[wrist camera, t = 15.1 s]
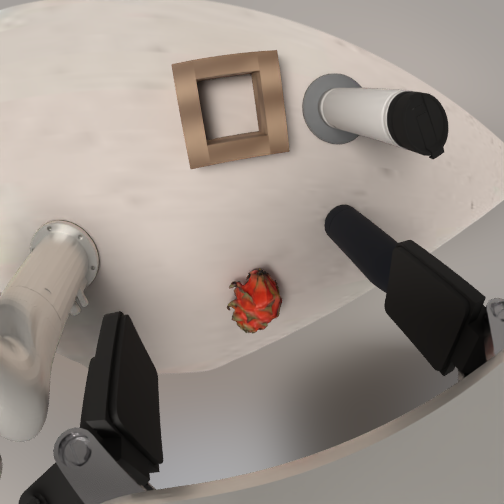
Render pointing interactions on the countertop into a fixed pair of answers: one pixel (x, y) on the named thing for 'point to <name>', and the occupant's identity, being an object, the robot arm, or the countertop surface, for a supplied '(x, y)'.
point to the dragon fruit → (255, 301)
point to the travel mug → (388, 117)
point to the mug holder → (266, 99)
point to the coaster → (311, 108)
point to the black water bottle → (362, 243)
